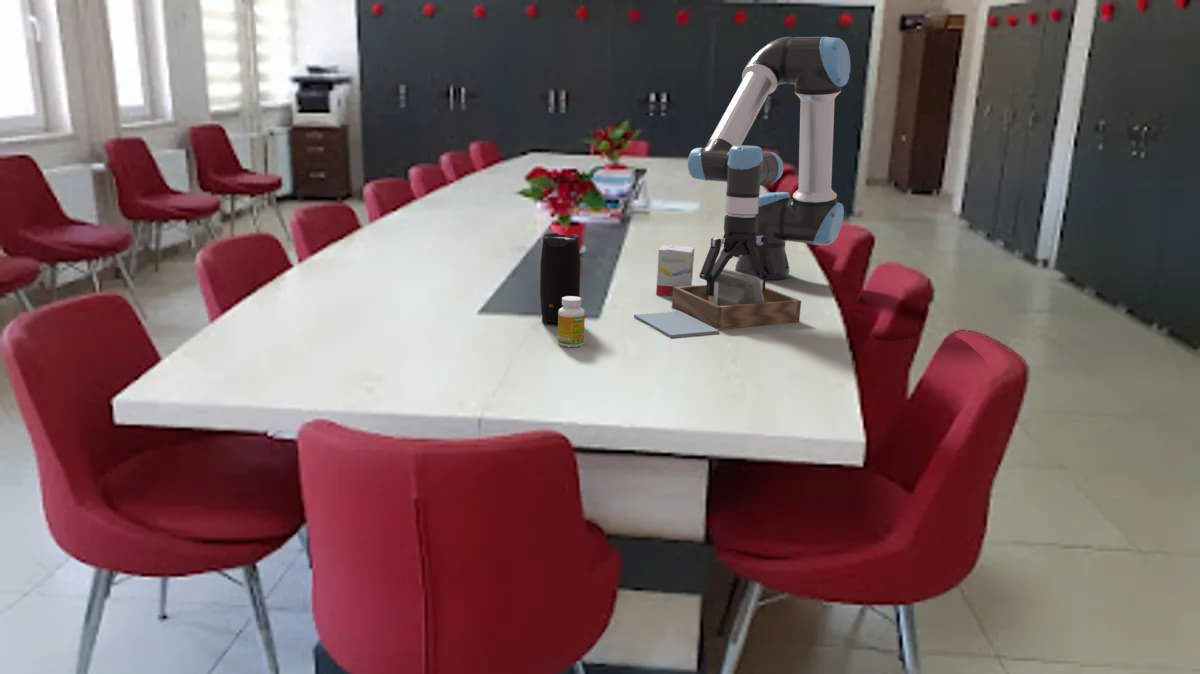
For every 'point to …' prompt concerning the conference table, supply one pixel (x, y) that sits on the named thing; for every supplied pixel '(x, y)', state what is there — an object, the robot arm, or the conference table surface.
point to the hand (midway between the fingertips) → (734, 307)
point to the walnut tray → (736, 308)
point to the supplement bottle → (571, 322)
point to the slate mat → (676, 324)
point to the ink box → (674, 268)
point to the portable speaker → (558, 273)
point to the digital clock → (738, 288)
